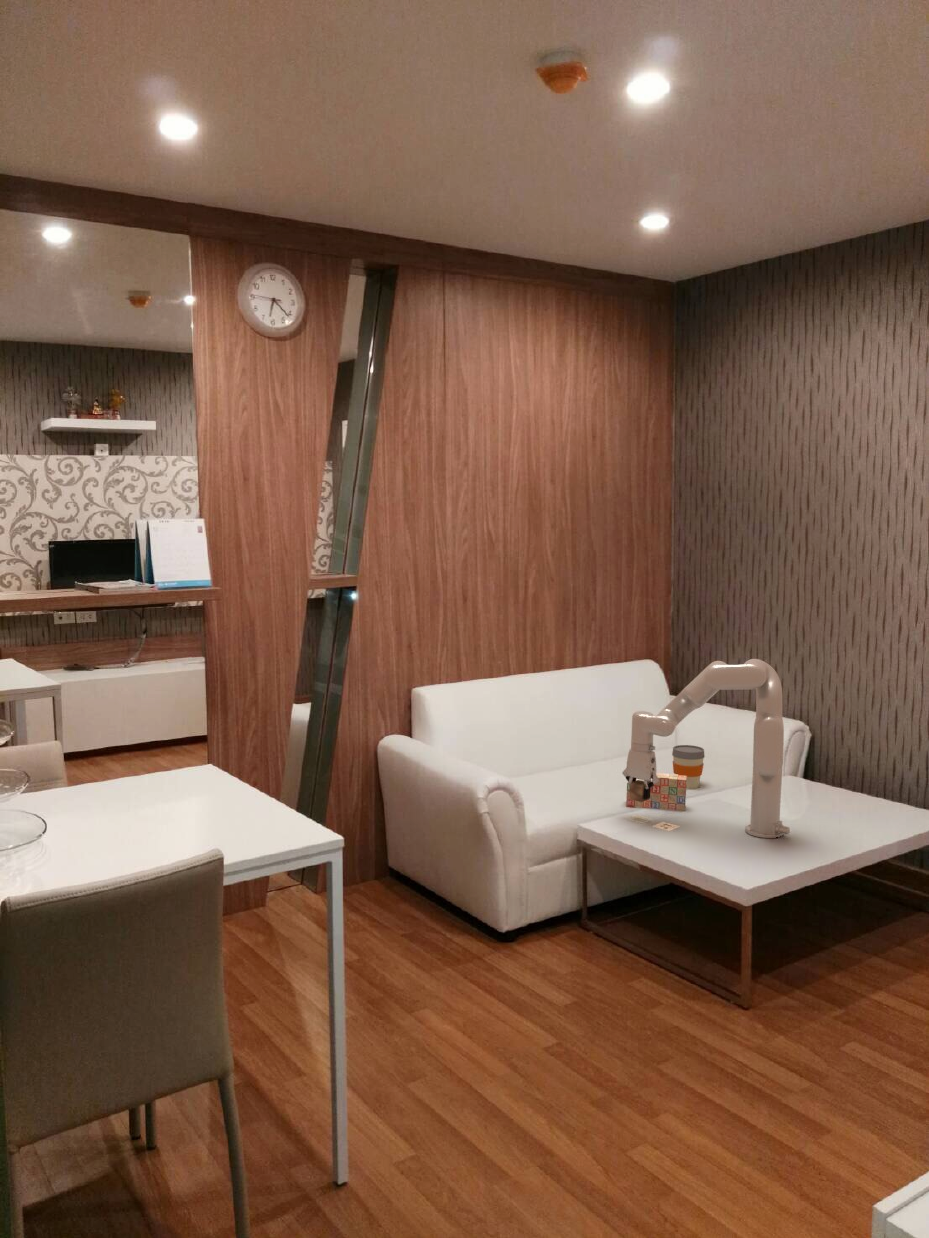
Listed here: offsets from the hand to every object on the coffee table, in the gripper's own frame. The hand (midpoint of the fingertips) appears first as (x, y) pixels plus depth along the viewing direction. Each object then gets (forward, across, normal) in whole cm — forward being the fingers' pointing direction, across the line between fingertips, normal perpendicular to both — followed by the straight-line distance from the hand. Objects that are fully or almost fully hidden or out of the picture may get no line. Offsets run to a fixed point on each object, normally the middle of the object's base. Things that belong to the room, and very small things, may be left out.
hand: (639, 796), depth 357 cm
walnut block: (+1, 0, 0) cm, 1 cm away
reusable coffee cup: (+9, +11, -50) cm, 52 cm away
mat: (+8, -6, 0) cm, 10 cm away
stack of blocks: (+9, +4, -17) cm, 20 cm away
